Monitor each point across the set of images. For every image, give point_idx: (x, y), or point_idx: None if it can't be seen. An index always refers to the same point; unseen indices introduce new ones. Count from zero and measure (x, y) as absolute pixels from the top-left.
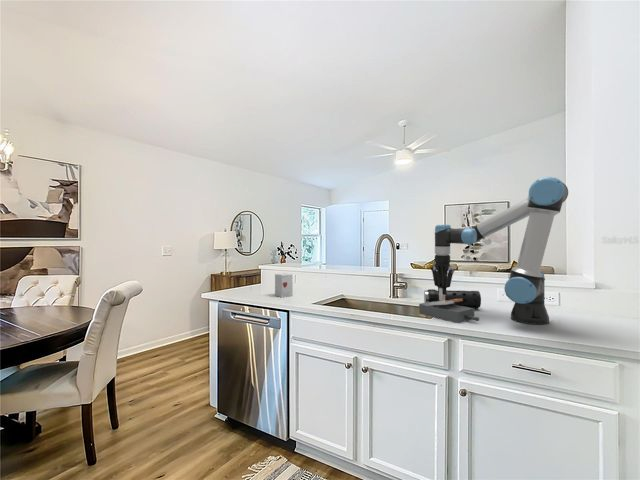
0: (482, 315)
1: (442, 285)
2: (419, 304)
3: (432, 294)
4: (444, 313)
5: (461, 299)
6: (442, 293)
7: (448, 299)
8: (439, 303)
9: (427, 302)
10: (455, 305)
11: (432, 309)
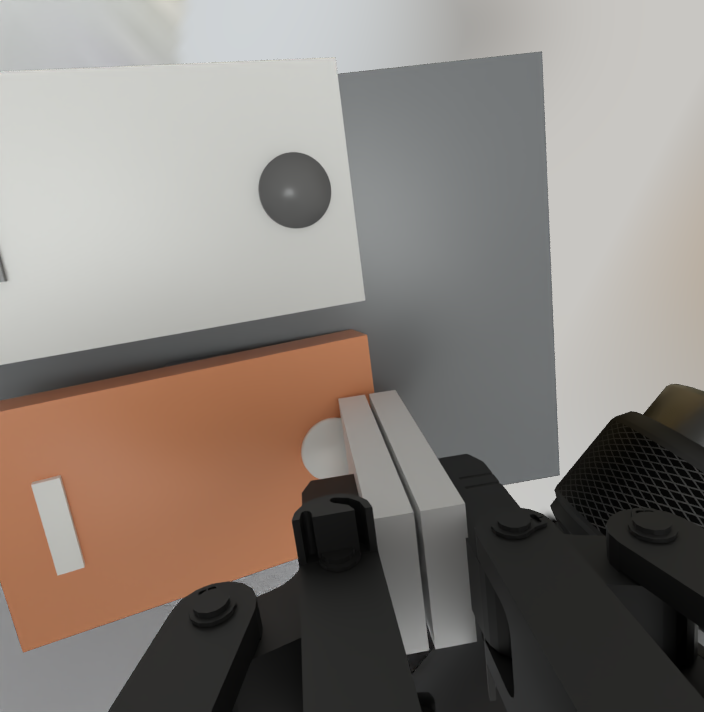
0: (64, 704)
1: (365, 591)
2: (532, 53)
3: (690, 518)
4: None
5: (18, 614)
6: (354, 477)
7: (474, 656)
8: (54, 76)
9: (548, 274)
10: None
11: None
